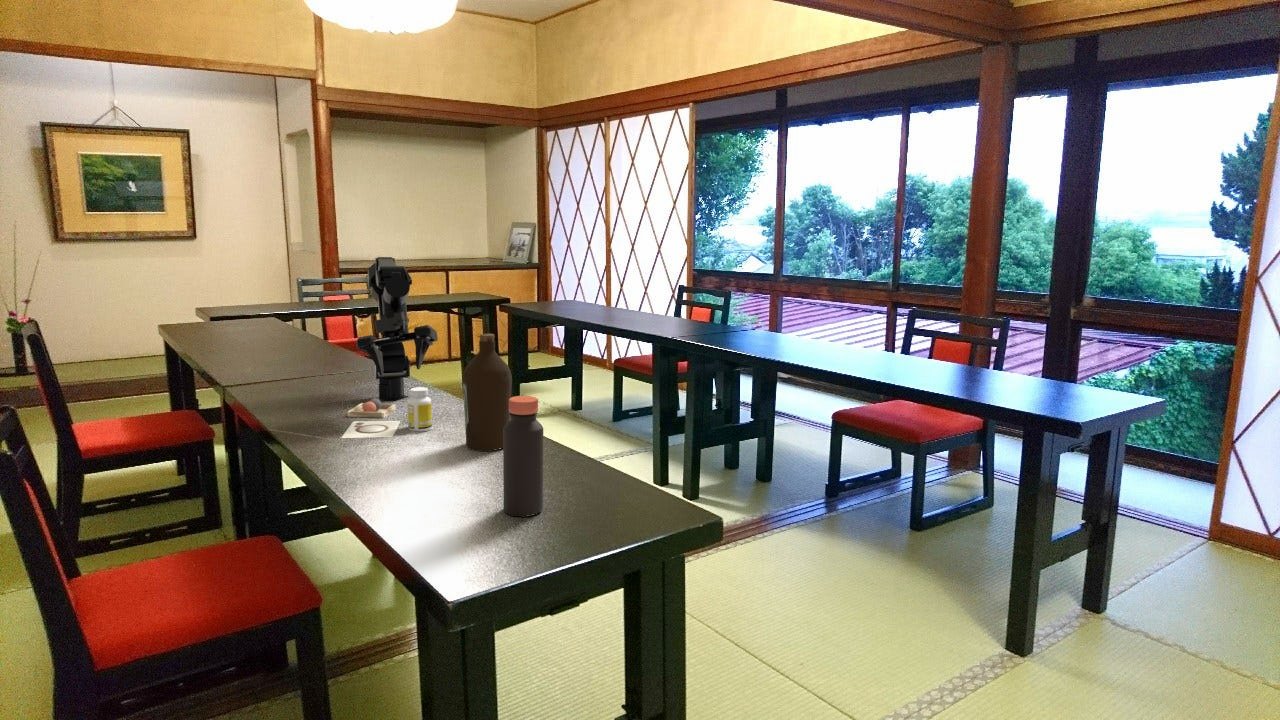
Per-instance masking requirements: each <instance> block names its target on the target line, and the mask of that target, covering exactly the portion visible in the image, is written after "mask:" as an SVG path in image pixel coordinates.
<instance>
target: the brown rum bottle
mask: <svg viewBox="0 0 1280 720" xmlns="http://www.w3.org/2000/svg"><path fill="white" fill-rule="evenodd" d="M478 344H479V345H478V347H479V351H478V352H477V354H476V355H475V356H474V357H473V358H472V359H471V360H470V361H469V363H467V365H466V366H465V368H464V371H463V375H462V381H461V382H462V394H463V409H464V410H463V411H464V425H465V429H464V430H465V446H466V447H467V448H468V449H469V448H470V450H472V449H473V451H476V450H480V451H479V452H489V451H488V450H494V449H499V448H503V428H504V426H505V425H506V424H507V423H508V422H509V421H510V420H511V415H509V413H510V412H509V399H510V398H511V397H512V389H513V388H512V384H513V383H512V382H513V377H512V372H511V369H510V366H509V365H508V364H507V363H506V362H505V361H504V360H503V359H502V357H501V356H499V355H498V354H497V352H496V341H495V334H494V333H480V334H479V341H478ZM481 450H482V451H481ZM486 450H487V451H486Z"/></svg>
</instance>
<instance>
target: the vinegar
mask: <svg viewBox="0 0 1280 720" xmlns="http://www.w3.org/2000/svg"><path fill="white" fill-rule="evenodd" d="M509 412H510V413H509V415H510V421H509V422H508V423H507V424H506V425H505V426H504V428H503V449H502V450H503V454H502V455H503V456H502V459H503V463H502V464H503V467H502V468H503V471H502V472H503V483H502V484H503V511H504V513H505V514H507V515H508V514H509V515H508V516H510V515H513V516H512V517H514V516H527V515H532V514H536V513H538V512H540V511H541V510H543V507H544V427H543V425H542V424H541V422H539V420H537V416H538V412H539V399H538V398H537V397H536V396H531V395H516V396H511V398H510V399H509ZM541 512H542V511H541ZM541 512H540V513H541Z"/></svg>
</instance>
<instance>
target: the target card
mask: <svg viewBox="0 0 1280 720" xmlns="http://www.w3.org/2000/svg"><path fill="white" fill-rule="evenodd" d="M400 423H401V420H369V421H368V420H367V421H366V420H364V421H363V420H362V421H361V420H358V421H356V420H355V421H354V420H353V421H352V423H351V424H350V425H349V426H348V428H347V430H346V431H345V432H344V433H343V435H342V436H341V437H340V439H365V438H370V439H372V438H373V439H374V438H393V437H394V435H395V433H396V431H397V428H398V426H399V425H400Z"/></svg>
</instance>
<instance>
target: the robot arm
mask: <svg viewBox="0 0 1280 720" xmlns="http://www.w3.org/2000/svg"><path fill="white" fill-rule="evenodd" d="M412 285H413V280H412V277H411V274H410V273H409V270H406V267H405V266H404V265H397V264H396V261H395V257H392V256H378V257H375V259H374V263H373V264H372V265H370V266H369V267H368V269H367V288H369V289H370V295H371V297H372V298H373V299H374V300H375V301H376V302H377V307H378V319H375V320H374V326H375V330H376V331H375V332H376V334H380V338H377V337H375V336H374V335H372V334H371V335H370V334H369V335H364V336H358V337H357V339H356V341H355V346H356V347H355V348H356V349H357V350H358V351H359V350H360V351H361V352H363V353H364V354H367V355H369V356H370V358H371V360H372V361H373V363H374V367H373V368H374V370H373V371H374V378H375V380H378V382H379V384H378V396H377V397H375V398H376V399H379V400H380V401H387V402H397V401H400V400H403V399H407V398H410V397H409V395H405V390H404V389H405V388H404V387H405V386H404V385H405V384H404V380H405V379H404V378H406V379H407V378H409V377H410V376H411V360H410V359H409V357H408V355H406V352H405V351H406V349H405V346H404V342H405V343H406V342H410V341H413V342H414V345H415V365H416V366H415V367H416V369H417V370H421V367H422V364H423V361H424V358H425V356H426V354H427V351H428V350H429V348H430V346H433V345H434V344H433V343H435V342H437V341H438V339H439V338H438V333H437V331H436V330H435V329H434V328H433V327H432V326H430V325H429V324H426V325H420V326H415V327H414V329H413V332H410V331H409V323H410V318H409V317H408V310H407V301H408V297H409V292H410V288H411V286H412Z"/></svg>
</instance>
